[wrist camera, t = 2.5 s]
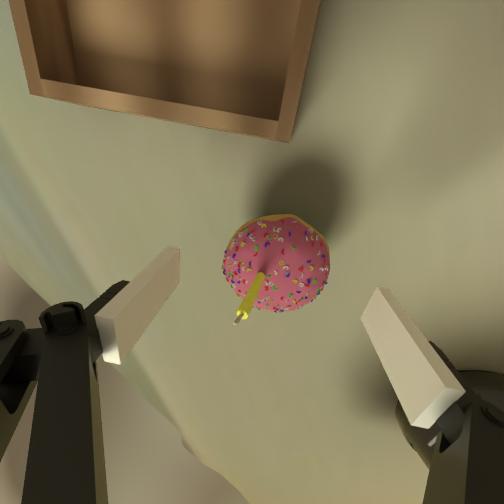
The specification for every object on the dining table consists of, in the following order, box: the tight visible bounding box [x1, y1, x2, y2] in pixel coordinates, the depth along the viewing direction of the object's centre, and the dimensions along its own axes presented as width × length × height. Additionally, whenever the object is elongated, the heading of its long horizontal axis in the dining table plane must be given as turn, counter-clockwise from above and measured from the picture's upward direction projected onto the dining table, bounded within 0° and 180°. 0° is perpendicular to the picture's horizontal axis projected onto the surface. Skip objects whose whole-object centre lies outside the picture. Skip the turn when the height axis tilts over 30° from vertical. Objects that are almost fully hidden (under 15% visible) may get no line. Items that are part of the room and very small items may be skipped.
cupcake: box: [222, 214, 330, 325], centre depth 17 cm, size 9×8×12 cm
